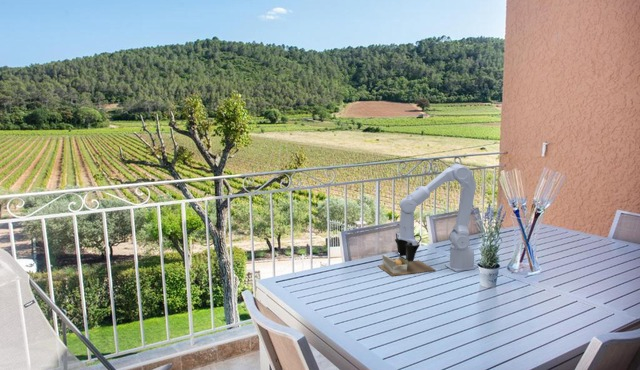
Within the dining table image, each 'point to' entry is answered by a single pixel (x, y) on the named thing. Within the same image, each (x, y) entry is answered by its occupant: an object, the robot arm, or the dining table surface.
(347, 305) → the dining table surface
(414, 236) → the coffee mug
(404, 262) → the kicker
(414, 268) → the brown piece
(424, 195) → the robot arm
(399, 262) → the ball
